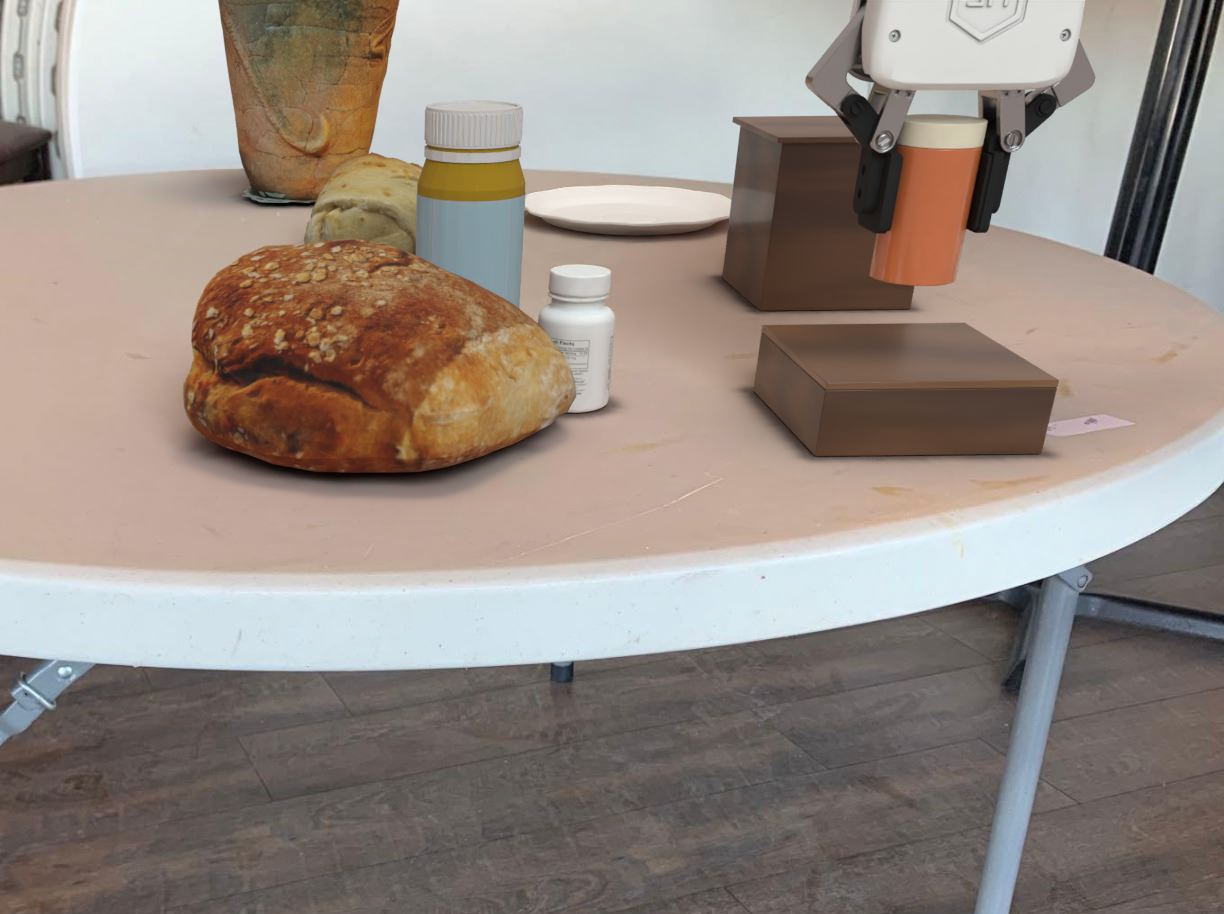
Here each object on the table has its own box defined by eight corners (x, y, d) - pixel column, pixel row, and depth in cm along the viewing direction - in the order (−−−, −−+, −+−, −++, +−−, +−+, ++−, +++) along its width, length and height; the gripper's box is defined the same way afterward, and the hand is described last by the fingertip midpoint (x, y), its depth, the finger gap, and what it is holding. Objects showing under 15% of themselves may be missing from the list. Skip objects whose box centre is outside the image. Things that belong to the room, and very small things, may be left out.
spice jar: (971, 278, 75) (1004, 119, 72) (927, 290, 73) (959, 126, 69) (897, 265, 78) (924, 112, 75) (852, 276, 76) (879, 118, 72)
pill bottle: (573, 388, 86) (583, 258, 82) (623, 405, 82) (636, 271, 79) (517, 400, 84) (525, 267, 80) (567, 418, 80) (577, 281, 77)
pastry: (409, 233, 130) (411, 141, 126) (479, 257, 120) (483, 158, 116) (270, 248, 125) (267, 152, 121) (330, 274, 115) (330, 171, 111)
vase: (438, 208, 141) (448, -135, 127) (240, 218, 137) (228, -135, 123) (386, 177, 159) (389, -127, 145) (210, 185, 156) (195, -126, 142)
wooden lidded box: (1041, 454, 74) (1059, 379, 72) (814, 456, 74) (826, 382, 72) (951, 388, 85) (965, 322, 83) (752, 390, 85) (761, 324, 83)
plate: (784, 221, 133) (787, 203, 132) (645, 251, 121) (647, 231, 121) (612, 194, 147) (614, 178, 146) (472, 219, 135) (473, 201, 135)
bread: (350, 366, 90) (350, 205, 86) (612, 412, 81) (628, 235, 76) (140, 453, 76) (125, 264, 71) (430, 522, 66) (436, 310, 62)
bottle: (475, 361, 91) (485, 114, 84) (393, 343, 95) (396, 107, 88) (537, 340, 96) (551, 104, 88) (456, 324, 100) (463, 97, 93)
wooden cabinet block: (920, 310, 102) (953, 135, 96) (754, 312, 102) (778, 137, 96) (863, 274, 112) (890, 114, 107) (713, 276, 112) (732, 116, 107)
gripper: (843, -177, 63) (782, 243, 71) (1221, -179, 63) (1115, 241, 71) (793, -167, 69) (743, 217, 78) (1134, -169, 69) (1047, 215, 78)
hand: (921, 224), depth 74 cm, fingers closed on spice jar, 4 cm apart
